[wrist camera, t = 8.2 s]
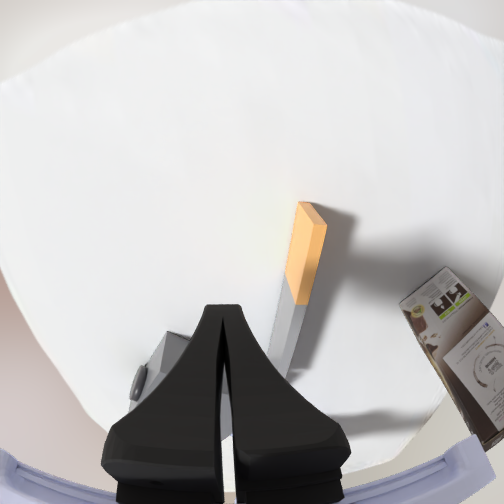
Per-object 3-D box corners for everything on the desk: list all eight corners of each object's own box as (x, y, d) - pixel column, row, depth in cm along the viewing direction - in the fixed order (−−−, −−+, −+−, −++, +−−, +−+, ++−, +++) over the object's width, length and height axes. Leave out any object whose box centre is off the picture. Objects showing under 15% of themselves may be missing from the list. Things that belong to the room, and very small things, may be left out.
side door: (273, 368, 26) (279, 400, 23) (263, 368, 26) (267, 400, 23) (310, 202, 19) (329, 225, 16) (296, 201, 19) (312, 224, 15)
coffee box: (395, 304, 25) (482, 447, 10) (446, 263, 23) (551, 384, 9) (418, 346, 28) (480, 457, 14) (460, 313, 27) (533, 414, 13)
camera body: (263, 368, 27) (269, 409, 23) (215, 412, 30) (215, 447, 26) (160, 328, 23) (151, 372, 19) (129, 383, 27) (120, 420, 23)
